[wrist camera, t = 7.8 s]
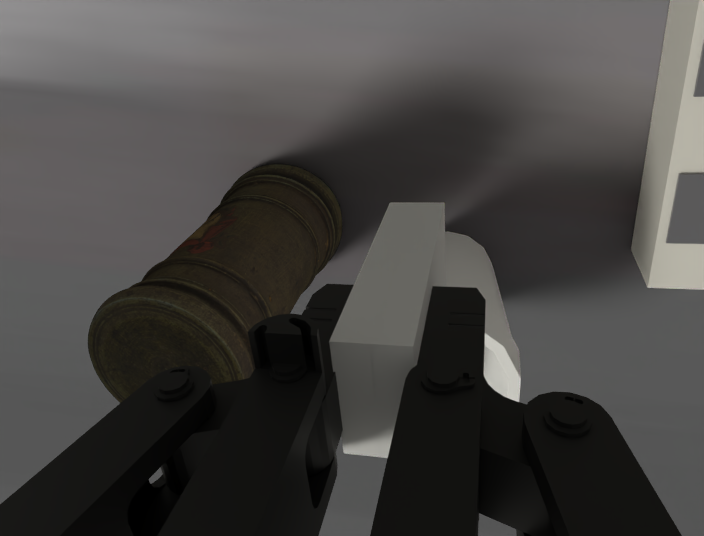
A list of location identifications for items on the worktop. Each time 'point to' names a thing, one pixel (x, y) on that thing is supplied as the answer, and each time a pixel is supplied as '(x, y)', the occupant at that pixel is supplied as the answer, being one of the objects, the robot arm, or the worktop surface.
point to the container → (220, 283)
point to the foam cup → (486, 311)
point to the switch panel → (675, 160)
